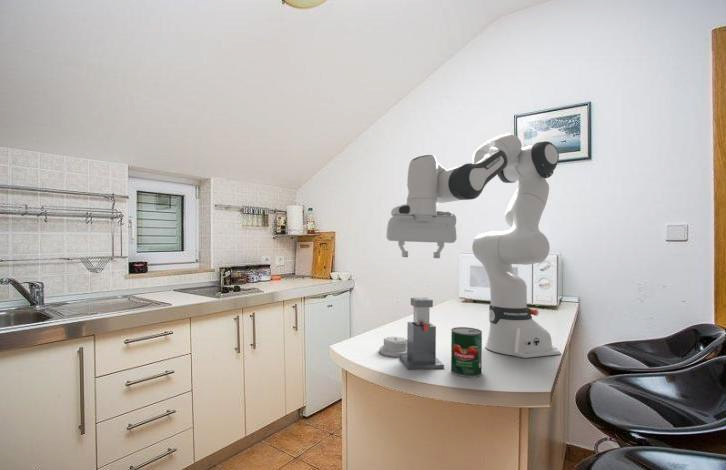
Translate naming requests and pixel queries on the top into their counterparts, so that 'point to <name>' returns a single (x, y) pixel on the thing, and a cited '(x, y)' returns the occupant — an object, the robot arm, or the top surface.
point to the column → (421, 310)
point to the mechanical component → (394, 346)
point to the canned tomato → (466, 351)
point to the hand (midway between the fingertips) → (420, 257)
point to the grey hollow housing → (421, 347)
